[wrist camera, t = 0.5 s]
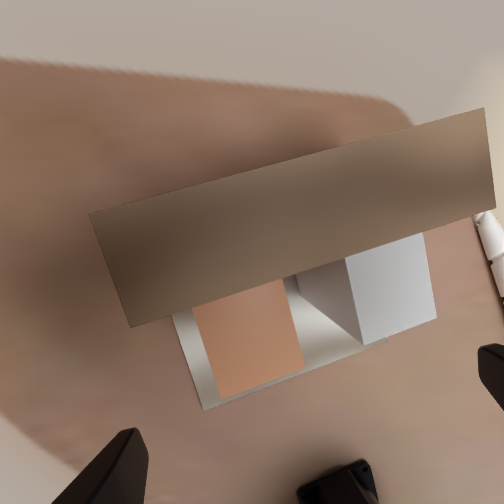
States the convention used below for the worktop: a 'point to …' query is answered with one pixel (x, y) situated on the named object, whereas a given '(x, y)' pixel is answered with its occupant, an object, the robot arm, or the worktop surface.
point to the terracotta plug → (249, 338)
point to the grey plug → (374, 290)
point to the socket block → (290, 230)
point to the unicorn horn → (493, 245)
